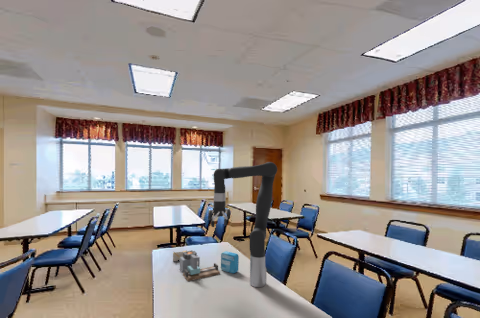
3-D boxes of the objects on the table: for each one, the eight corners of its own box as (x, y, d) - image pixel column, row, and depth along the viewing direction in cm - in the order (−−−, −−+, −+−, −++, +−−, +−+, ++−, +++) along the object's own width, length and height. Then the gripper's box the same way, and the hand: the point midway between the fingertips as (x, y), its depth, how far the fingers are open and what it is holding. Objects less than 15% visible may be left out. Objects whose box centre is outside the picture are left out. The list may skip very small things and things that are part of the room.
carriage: (196, 269, 157) (196, 253, 157) (200, 273, 151) (200, 257, 151) (187, 270, 154) (187, 255, 154) (191, 274, 148) (191, 258, 148)
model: (187, 261, 178) (188, 251, 179) (173, 263, 174) (173, 252, 175) (186, 259, 181) (187, 249, 182) (172, 261, 177) (173, 251, 178)
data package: (220, 270, 162) (220, 252, 163) (224, 267, 166) (224, 250, 167) (234, 274, 156) (235, 255, 157) (238, 271, 160) (238, 254, 160)
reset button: (191, 255, 166) (191, 251, 167) (193, 256, 163) (193, 253, 163) (186, 256, 165) (186, 252, 165) (188, 257, 161) (188, 254, 162)
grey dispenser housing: (195, 265, 170) (195, 249, 171) (199, 269, 163) (200, 253, 164) (179, 268, 164) (179, 252, 165) (182, 272, 157) (183, 256, 157)
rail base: (213, 268, 165) (213, 261, 165) (219, 273, 156) (219, 266, 156) (182, 275, 153) (183, 268, 154) (187, 281, 145) (187, 273, 145)
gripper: (226, 199, 154) (226, 223, 153) (206, 200, 147) (206, 226, 146) (232, 200, 148) (231, 226, 147) (211, 201, 141) (211, 228, 140)
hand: (219, 226), depth 146 cm, fingers open, 8 cm apart
